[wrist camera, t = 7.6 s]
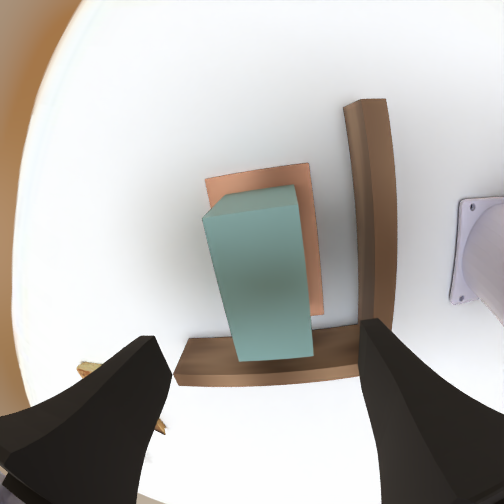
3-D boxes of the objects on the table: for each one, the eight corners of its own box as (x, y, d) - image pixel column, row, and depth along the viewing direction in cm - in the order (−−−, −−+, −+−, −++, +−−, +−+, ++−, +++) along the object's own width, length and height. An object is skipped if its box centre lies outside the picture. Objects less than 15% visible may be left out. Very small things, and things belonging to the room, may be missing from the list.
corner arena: (362, 106, 14) (385, 98, 10) (372, 334, 20) (385, 371, 16) (133, 147, 16) (97, 153, 13) (193, 349, 22) (178, 385, 18)
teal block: (308, 305, 19) (313, 356, 14) (249, 310, 19) (239, 361, 15) (293, 184, 16) (298, 204, 11) (225, 194, 17) (201, 218, 12)
